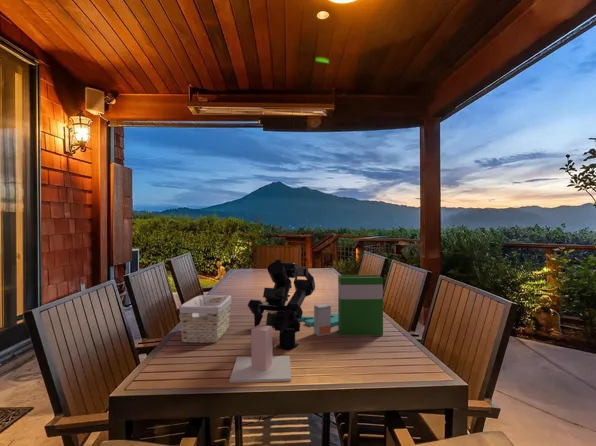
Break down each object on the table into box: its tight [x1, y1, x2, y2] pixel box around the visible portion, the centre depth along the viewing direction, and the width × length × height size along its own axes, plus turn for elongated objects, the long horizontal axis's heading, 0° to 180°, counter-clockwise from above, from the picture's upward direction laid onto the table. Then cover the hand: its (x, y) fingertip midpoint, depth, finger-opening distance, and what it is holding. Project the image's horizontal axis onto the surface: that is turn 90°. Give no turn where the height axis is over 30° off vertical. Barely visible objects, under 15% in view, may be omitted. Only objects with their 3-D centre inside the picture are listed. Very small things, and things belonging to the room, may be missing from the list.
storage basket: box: [179, 294, 233, 344], centre depth 149 cm, size 24×16×15 cm
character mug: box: [261, 297, 277, 327], centre depth 161 cm, size 11×7×13 cm, turn 88°
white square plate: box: [229, 355, 292, 384], centre depth 113 cm, size 18×18×1 cm
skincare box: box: [313, 303, 332, 337], centre depth 149 cm, size 6×4×12 cm
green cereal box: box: [337, 274, 384, 336], centre depth 151 cm, size 18×7×24 cm, turn 91°
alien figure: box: [298, 313, 338, 328], centre depth 169 cm, size 20×2×20 cm
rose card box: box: [250, 324, 273, 371], centre depth 113 cm, size 5×5×12 cm
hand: (267, 331), depth 117 cm, fingers open, 9 cm apart
